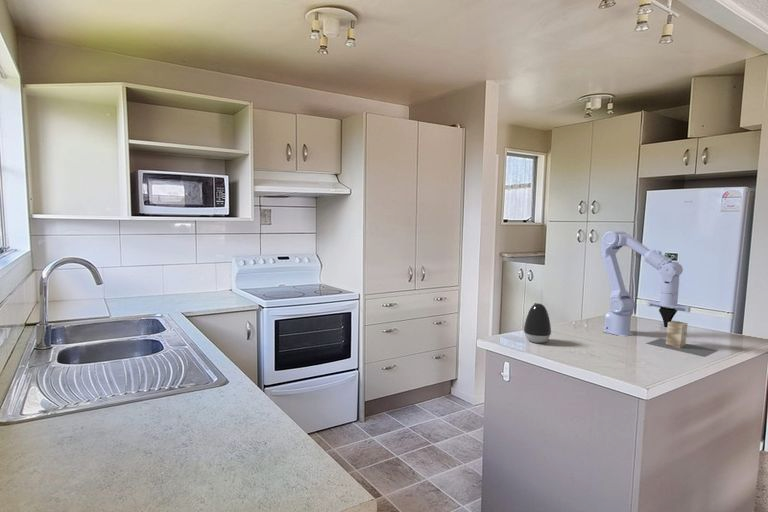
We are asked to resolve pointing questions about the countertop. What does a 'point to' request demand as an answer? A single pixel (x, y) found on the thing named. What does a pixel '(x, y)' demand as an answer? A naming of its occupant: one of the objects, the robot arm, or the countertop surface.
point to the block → (676, 334)
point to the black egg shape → (537, 324)
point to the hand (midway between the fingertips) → (666, 327)
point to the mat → (684, 348)
